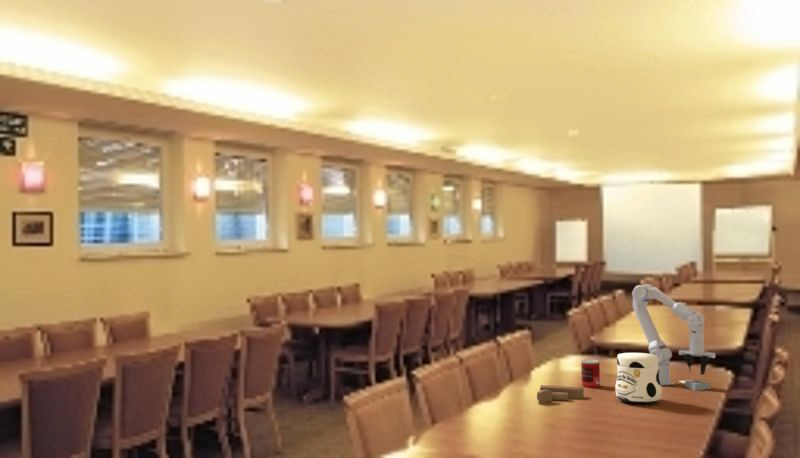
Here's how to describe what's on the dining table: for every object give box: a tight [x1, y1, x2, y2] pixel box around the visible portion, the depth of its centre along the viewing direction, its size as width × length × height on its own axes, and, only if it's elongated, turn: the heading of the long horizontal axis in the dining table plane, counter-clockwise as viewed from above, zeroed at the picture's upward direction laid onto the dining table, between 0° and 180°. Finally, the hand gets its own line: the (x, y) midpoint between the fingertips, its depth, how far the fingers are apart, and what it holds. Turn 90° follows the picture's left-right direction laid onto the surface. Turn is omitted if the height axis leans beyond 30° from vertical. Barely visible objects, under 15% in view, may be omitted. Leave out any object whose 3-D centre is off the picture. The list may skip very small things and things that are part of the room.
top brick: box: [689, 364, 705, 380], centre depth 299 cm, size 4×4×5 cm
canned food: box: [580, 358, 601, 389], centre depth 307 cm, size 8×8×11 cm
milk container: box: [614, 352, 663, 405], centre depth 277 cm, size 17×17×18 cm
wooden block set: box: [536, 384, 585, 405], centre depth 281 cm, size 17×6×18 cm
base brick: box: [684, 379, 711, 391], centre depth 299 cm, size 7×7×3 cm
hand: (697, 373), depth 299 cm, fingers closed on top brick, 4 cm apart
